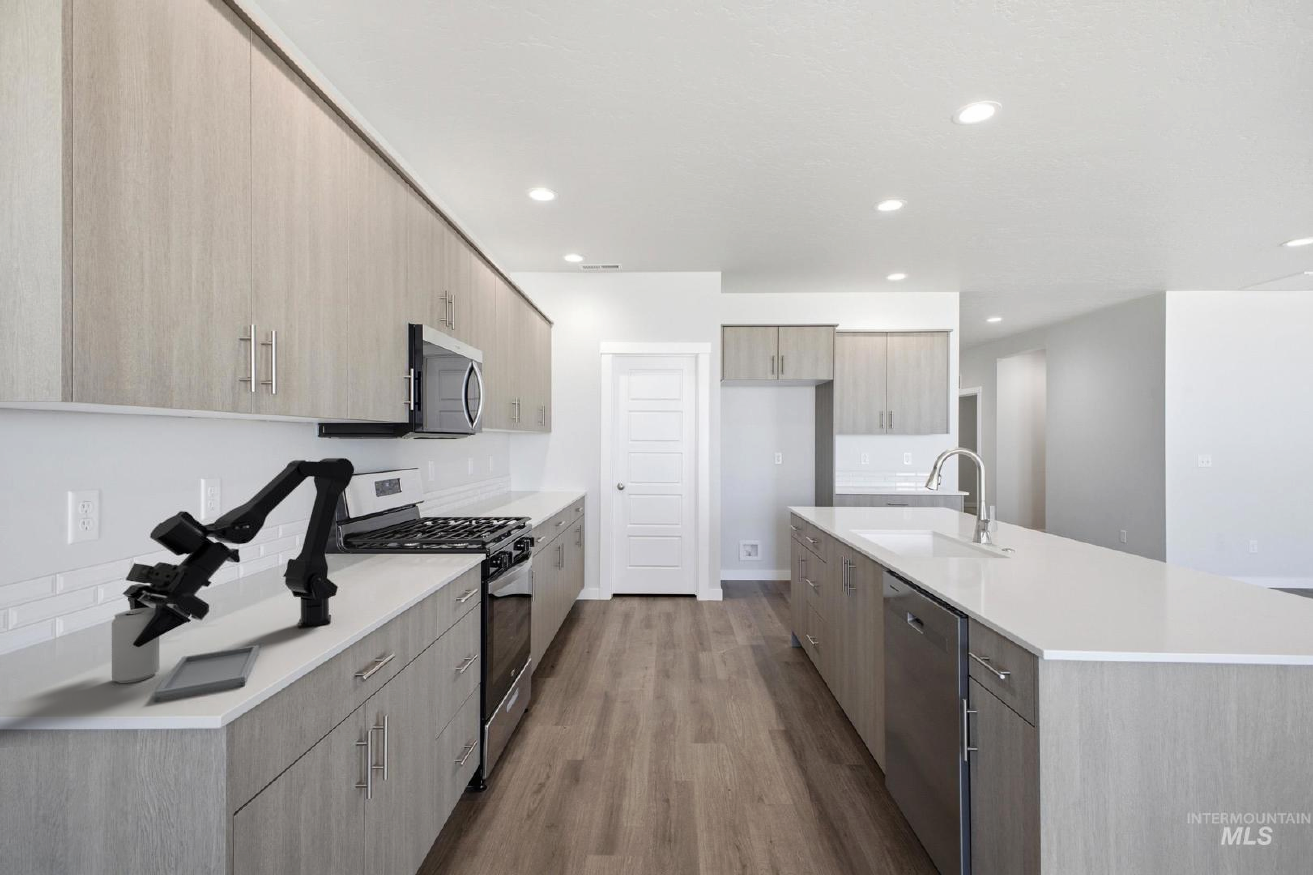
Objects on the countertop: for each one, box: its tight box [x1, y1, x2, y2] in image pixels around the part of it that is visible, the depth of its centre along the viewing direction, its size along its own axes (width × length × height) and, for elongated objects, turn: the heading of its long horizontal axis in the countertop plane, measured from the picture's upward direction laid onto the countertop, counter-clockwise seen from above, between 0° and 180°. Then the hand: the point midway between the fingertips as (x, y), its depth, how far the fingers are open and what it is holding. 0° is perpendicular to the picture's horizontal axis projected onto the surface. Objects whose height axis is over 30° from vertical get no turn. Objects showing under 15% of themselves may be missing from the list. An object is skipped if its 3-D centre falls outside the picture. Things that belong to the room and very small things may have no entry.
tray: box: [154, 644, 260, 703], centre depth 103 cm, size 18×12×2 cm, turn 29°
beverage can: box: [111, 608, 161, 684], centre depth 102 cm, size 6×6×12 cm
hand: (126, 643), depth 101 cm, fingers closed on beverage can, 6 cm apart
